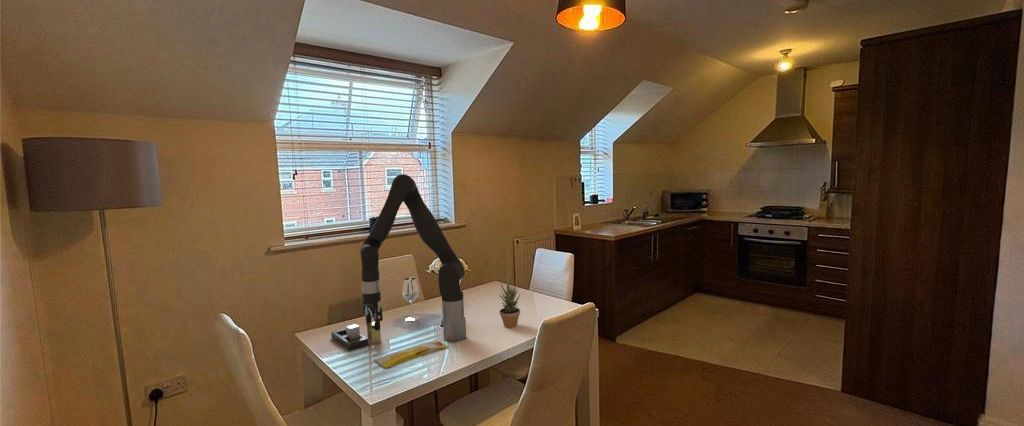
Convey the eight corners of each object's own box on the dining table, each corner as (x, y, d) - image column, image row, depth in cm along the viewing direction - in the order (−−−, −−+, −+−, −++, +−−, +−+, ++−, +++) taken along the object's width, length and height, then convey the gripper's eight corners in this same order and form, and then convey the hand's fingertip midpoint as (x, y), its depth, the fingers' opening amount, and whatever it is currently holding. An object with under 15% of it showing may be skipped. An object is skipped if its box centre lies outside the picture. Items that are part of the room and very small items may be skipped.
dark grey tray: (368, 345, 180) (368, 338, 180) (349, 351, 175) (349, 344, 175) (349, 333, 195) (349, 326, 195) (331, 338, 190) (331, 331, 190)
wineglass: (418, 321, 208) (415, 280, 206) (402, 321, 208) (399, 281, 206) (421, 315, 216) (419, 276, 214) (406, 316, 216) (404, 277, 214)
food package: (385, 365, 157) (373, 357, 165) (385, 371, 158) (374, 362, 165) (448, 343, 175) (435, 337, 183) (448, 349, 176) (435, 342, 183)
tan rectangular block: (381, 341, 184) (379, 323, 183) (372, 344, 181) (370, 326, 181) (376, 339, 187) (375, 321, 186) (368, 341, 184) (366, 323, 184)
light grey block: (360, 344, 182) (359, 326, 181) (351, 347, 179) (349, 328, 178) (356, 342, 185) (355, 323, 184) (347, 344, 182) (346, 326, 181)
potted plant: (504, 321, 204) (502, 270, 202) (523, 323, 201) (521, 271, 198) (496, 328, 195) (494, 275, 192) (516, 330, 191) (514, 276, 189)
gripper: (387, 292, 180) (389, 329, 181) (372, 285, 190) (374, 321, 192) (369, 295, 175) (371, 334, 176) (355, 289, 185) (357, 325, 187)
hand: (373, 327), depth 184 cm, fingers open, 8 cm apart
